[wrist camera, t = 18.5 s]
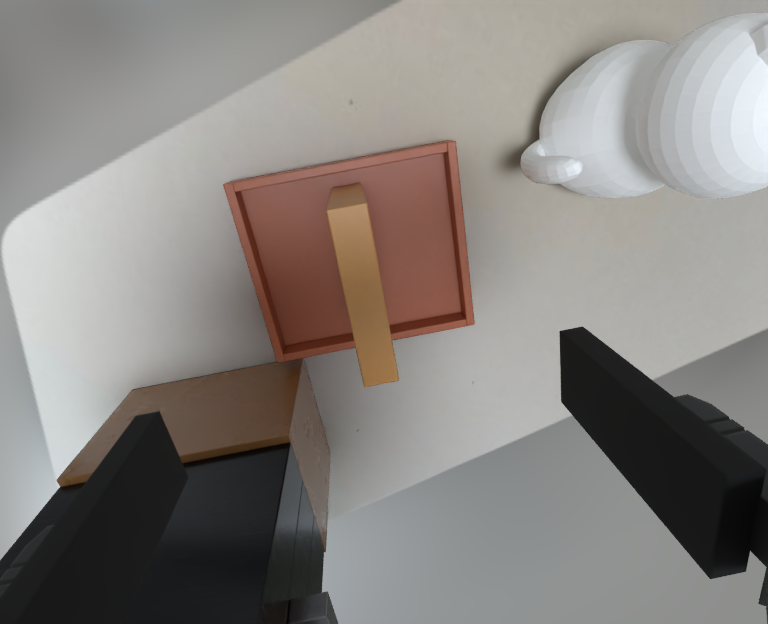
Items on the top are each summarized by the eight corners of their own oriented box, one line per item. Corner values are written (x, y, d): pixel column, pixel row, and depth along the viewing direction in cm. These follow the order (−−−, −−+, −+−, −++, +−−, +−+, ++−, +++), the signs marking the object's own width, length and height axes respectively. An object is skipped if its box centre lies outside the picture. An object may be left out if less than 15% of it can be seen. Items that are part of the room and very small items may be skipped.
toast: (331, 187, 30) (325, 209, 21) (360, 182, 30) (367, 202, 21) (359, 319, 34) (364, 387, 25) (384, 314, 34) (399, 381, 25)
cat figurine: (680, 150, 32) (942, 161, 18) (521, 230, 33) (649, 298, 19) (653, 18, 28) (949, -95, 14) (477, 112, 30) (593, 91, 16)
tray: (281, 350, 35) (277, 363, 33) (230, 181, 30) (223, 184, 28) (467, 314, 35) (474, 324, 33) (448, 140, 30) (455, 140, 28)
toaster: (175, 484, 39) (-10, 865, 19) (132, 389, 35) (-162, 738, 15) (350, 450, 39) (355, 790, 19) (325, 352, 35) (298, 645, 15)
